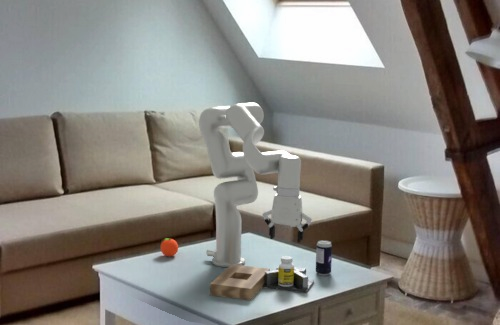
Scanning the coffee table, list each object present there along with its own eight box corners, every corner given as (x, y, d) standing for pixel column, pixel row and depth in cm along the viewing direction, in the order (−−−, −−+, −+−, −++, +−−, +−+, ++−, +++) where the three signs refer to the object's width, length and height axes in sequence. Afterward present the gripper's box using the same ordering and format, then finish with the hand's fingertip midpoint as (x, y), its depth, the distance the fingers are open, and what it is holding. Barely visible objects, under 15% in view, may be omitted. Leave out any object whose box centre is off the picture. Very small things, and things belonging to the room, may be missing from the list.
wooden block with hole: (210, 295, 250) (210, 283, 250) (231, 274, 271) (231, 264, 270) (250, 300, 246) (251, 288, 245) (269, 279, 267) (269, 268, 266)
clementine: (154, 256, 292) (154, 238, 291) (166, 251, 297) (166, 234, 296) (170, 259, 287) (170, 242, 286) (181, 255, 293) (181, 238, 292)
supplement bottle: (283, 288, 255) (283, 260, 253) (275, 283, 260) (275, 256, 258) (296, 285, 257) (297, 258, 256) (288, 281, 262) (289, 254, 261)
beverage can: (330, 276, 271) (331, 245, 268) (314, 275, 272) (315, 243, 270) (331, 271, 276) (332, 240, 274) (316, 270, 277) (317, 239, 275)
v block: (261, 287, 258) (261, 273, 257) (270, 277, 269) (270, 264, 268) (306, 293, 254) (307, 279, 253) (313, 282, 264) (314, 269, 263)
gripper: (260, 191, 252) (258, 239, 255) (310, 197, 247) (307, 246, 250) (267, 186, 259) (265, 233, 262) (315, 191, 254) (312, 239, 257)
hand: (285, 239), depth 256 cm, fingers open, 9 cm apart
